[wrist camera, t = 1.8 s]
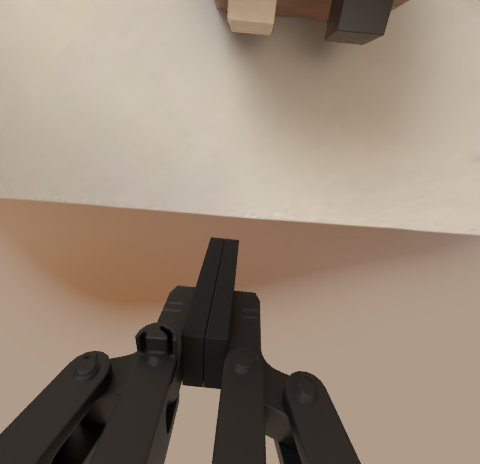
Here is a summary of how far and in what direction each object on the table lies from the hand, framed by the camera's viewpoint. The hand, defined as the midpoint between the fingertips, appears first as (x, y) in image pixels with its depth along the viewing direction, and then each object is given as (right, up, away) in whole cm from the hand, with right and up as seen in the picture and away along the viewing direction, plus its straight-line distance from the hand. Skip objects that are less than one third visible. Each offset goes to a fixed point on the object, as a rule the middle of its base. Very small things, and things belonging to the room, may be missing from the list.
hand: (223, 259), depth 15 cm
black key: (+9, +18, +4) cm, 20 cm away
